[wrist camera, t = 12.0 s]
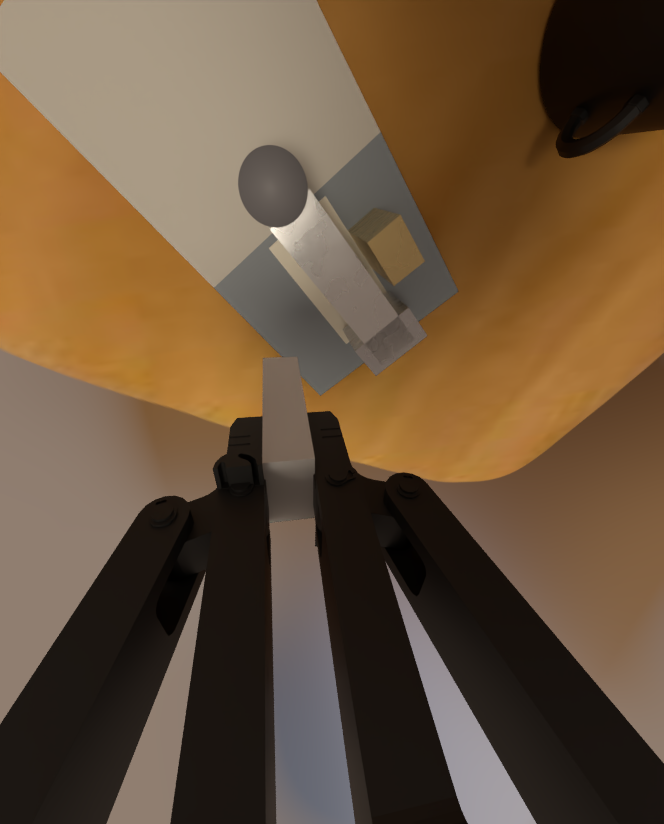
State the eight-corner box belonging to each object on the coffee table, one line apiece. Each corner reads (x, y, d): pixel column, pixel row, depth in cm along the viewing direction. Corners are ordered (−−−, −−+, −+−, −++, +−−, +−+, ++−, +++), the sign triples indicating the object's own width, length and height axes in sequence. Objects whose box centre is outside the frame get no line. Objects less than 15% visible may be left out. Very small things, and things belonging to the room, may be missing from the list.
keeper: (374, 207, 22) (400, 214, 18) (396, 246, 24) (424, 261, 20) (347, 230, 23) (367, 243, 19) (371, 267, 24) (393, 286, 20)
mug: (475, 102, 21) (592, 63, 14) (657, -158, 17) (973, -420, 9) (549, 206, 25) (668, 218, 18) (709, 22, 21) (953, -60, 14)
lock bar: (258, 230, 21) (258, 240, 18) (310, 176, 20) (321, 176, 17) (361, 352, 27) (375, 375, 24) (406, 316, 26) (427, 335, 23)
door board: (189, -238, 13) (138, -552, 8) (451, 287, 28) (502, 316, 22) (-10, 53, 16) (-151, -13, 11) (318, 388, 31) (332, 437, 25)
